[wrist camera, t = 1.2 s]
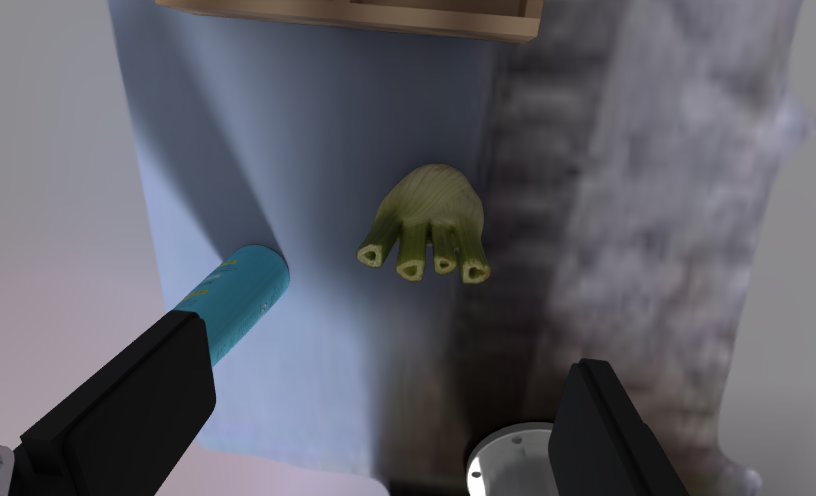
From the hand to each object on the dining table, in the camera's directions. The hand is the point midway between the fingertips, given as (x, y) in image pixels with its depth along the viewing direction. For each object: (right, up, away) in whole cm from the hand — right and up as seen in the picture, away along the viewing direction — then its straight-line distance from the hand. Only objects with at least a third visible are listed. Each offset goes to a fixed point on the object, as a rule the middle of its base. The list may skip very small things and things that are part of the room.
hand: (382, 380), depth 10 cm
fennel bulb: (+3, +7, +18) cm, 19 cm away
